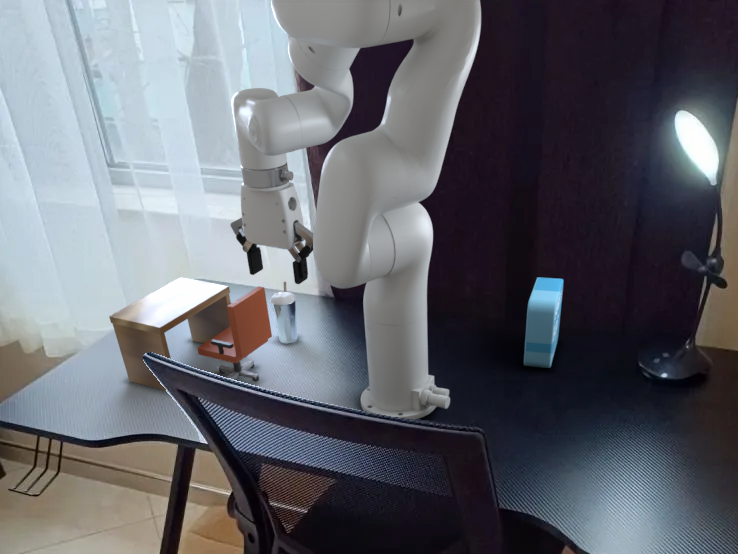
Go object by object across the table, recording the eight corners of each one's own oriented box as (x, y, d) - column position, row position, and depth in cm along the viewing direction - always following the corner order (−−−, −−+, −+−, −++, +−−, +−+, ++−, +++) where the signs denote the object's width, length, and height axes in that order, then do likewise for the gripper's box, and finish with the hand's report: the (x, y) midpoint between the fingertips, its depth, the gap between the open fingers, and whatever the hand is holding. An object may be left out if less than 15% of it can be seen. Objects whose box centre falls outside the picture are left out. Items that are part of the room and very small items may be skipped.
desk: (240, 349, 144) (229, 286, 137) (176, 393, 132) (159, 327, 125) (194, 338, 149) (180, 276, 141) (128, 381, 137) (108, 316, 129)
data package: (549, 371, 133) (555, 304, 125) (523, 369, 134) (527, 302, 127) (558, 340, 142) (564, 275, 134) (533, 338, 143) (538, 274, 135)
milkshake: (303, 332, 149) (297, 281, 142) (298, 345, 145) (291, 293, 138) (280, 332, 149) (272, 281, 143) (274, 345, 145) (266, 293, 139)
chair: (279, 371, 137) (265, 286, 127) (247, 395, 131) (231, 308, 121) (236, 361, 141) (220, 277, 131) (203, 384, 134) (184, 298, 125)
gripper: (322, 175, 128) (331, 277, 139) (237, 163, 134) (252, 261, 145) (296, 188, 123) (307, 293, 134) (209, 175, 129) (227, 276, 140)
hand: (278, 276), depth 139 cm, fingers open, 9 cm apart
